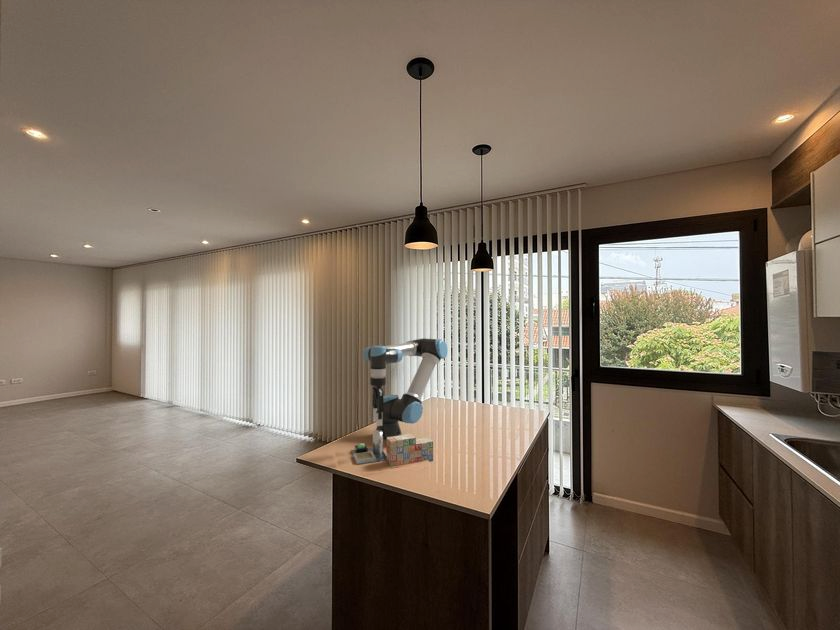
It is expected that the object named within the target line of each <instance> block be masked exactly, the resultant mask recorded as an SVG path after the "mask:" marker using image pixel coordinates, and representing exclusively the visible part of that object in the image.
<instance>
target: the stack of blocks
mask: <svg viewBox="0 0 840 630" xmlns="http://www.w3.org/2000/svg"><path fill="white" fill-rule="evenodd" d="M385 441H386V443H385V448H386V450H385V452H386V453H385V455H386V461H385V462H386V463H387V464H388V465H389V466H390V469H393V467H394V466H395V467H394V469H396V468H399V466H400V465H406V464H411V463H416V462H423V461H428V462H433V461H434V440H432V439H430V437H422V438H416V436H414V435H413V434H412V433H405V434H401V435H399V436H393V437H387V438H386V439H385ZM401 467H404V466H401Z"/></svg>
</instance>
